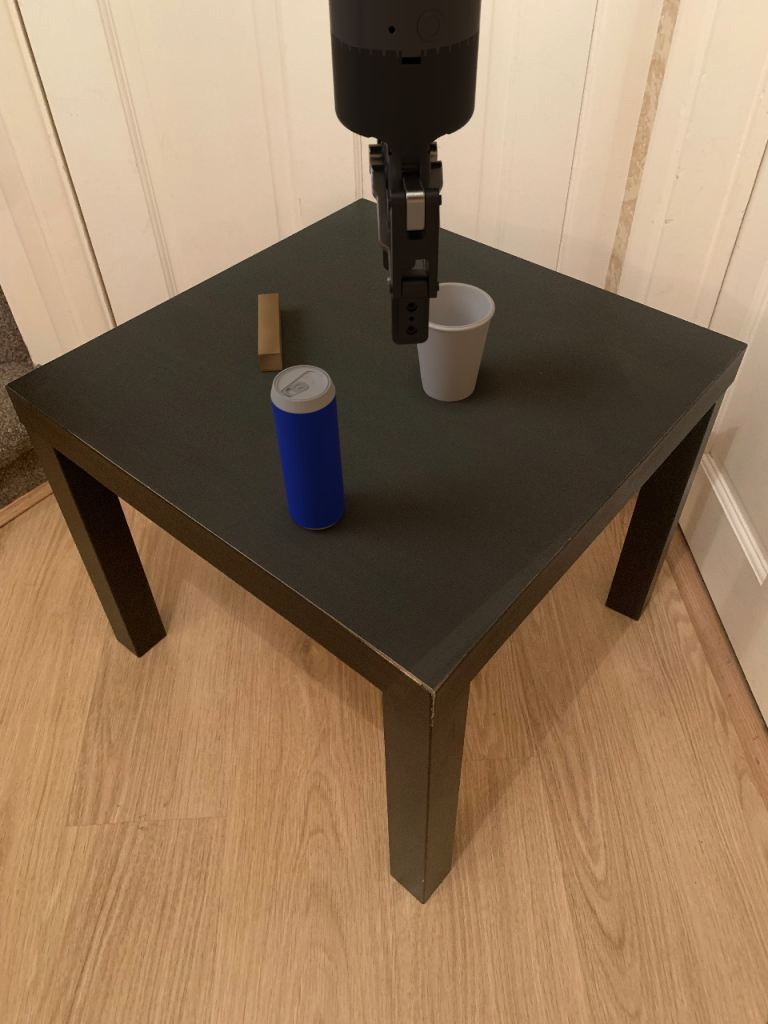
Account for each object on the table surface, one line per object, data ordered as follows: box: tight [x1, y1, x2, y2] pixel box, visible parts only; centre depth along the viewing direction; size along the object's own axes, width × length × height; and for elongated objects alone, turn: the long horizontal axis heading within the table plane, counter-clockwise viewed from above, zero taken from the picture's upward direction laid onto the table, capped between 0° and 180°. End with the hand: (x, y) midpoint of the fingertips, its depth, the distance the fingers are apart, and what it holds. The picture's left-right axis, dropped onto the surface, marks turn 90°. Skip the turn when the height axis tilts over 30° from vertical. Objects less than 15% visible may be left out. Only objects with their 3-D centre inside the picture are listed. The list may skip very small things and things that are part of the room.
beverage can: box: [270, 364, 346, 531], centre depth 68 cm, size 5×5×15 cm
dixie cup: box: [416, 282, 496, 402], centre depth 82 cm, size 8×8×10 cm
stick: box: [257, 292, 284, 373], centre depth 91 cm, size 2×12×2 cm, turn 6°
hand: (404, 302), depth 51 cm, fingers open, 8 cm apart
